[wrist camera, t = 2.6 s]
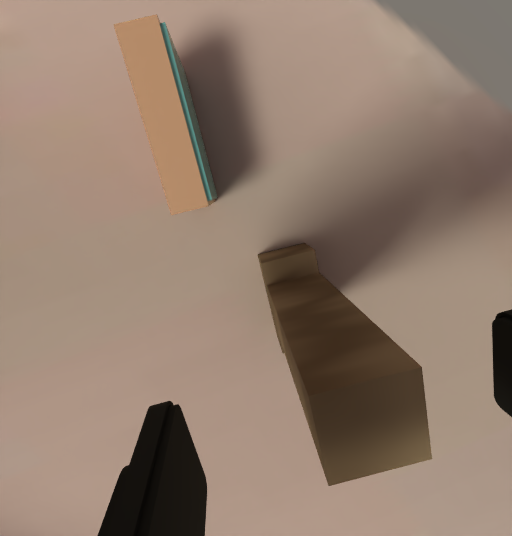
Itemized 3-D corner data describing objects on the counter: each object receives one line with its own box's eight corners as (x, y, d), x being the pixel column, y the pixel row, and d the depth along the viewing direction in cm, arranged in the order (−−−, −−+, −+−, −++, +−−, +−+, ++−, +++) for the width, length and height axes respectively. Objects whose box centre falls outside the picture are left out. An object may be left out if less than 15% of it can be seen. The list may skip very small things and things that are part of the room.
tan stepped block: (304, 242, 19) (416, 321, 8) (320, 323, 21) (435, 493, 9) (257, 254, 19) (298, 351, 8) (276, 334, 21) (336, 520, 9)
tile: (184, 70, 17) (162, 13, 11) (218, 200, 18) (213, 204, 13) (151, 77, 17) (113, 24, 11) (188, 208, 18) (171, 215, 13)
